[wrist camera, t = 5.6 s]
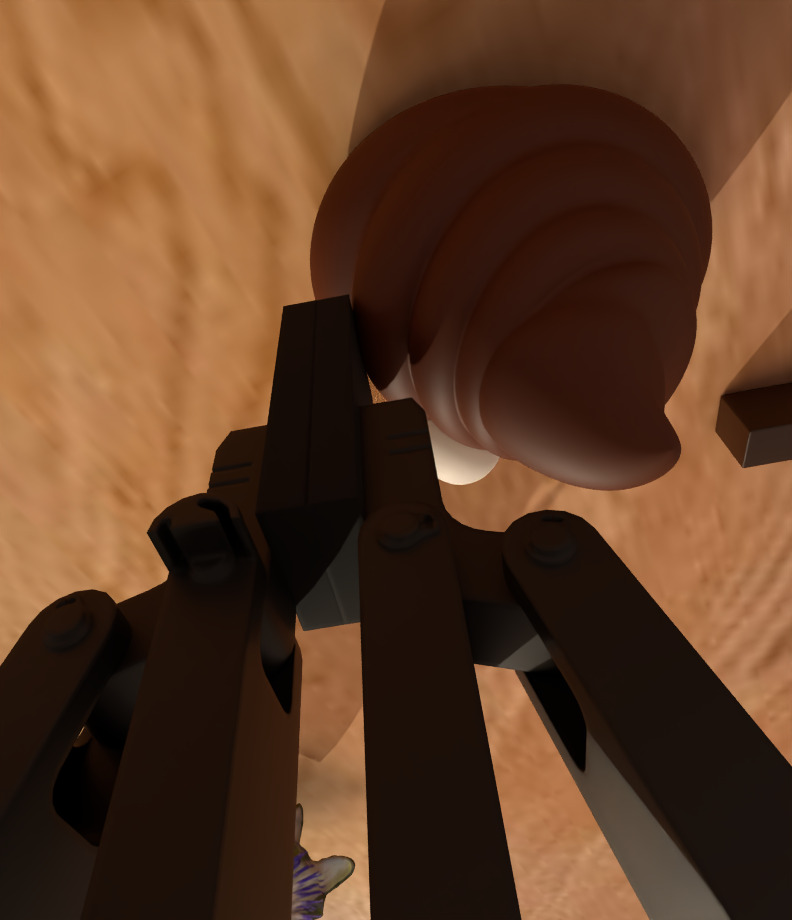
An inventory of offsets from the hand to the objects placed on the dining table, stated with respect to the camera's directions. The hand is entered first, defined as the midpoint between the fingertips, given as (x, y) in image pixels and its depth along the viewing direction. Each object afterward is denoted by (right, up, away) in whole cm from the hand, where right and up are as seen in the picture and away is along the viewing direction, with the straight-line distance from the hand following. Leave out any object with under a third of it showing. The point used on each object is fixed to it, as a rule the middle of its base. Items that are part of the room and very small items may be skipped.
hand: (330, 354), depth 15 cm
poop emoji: (+4, +3, +3) cm, 6 cm away
